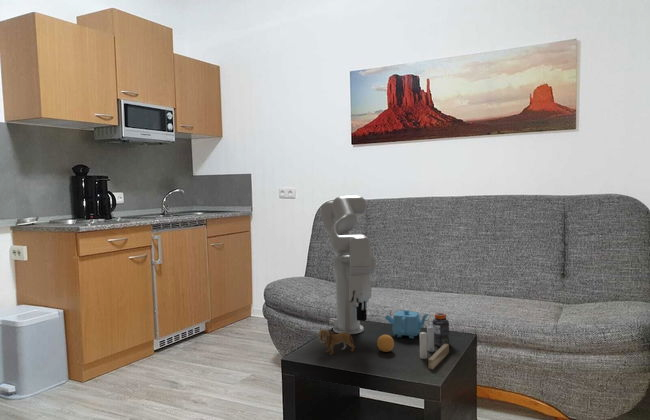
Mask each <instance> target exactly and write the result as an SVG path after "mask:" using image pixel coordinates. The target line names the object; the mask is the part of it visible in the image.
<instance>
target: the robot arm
mask: <svg viewBox="0 0 650 420" xmlns="http://www.w3.org/2000/svg"><path fill="white" fill-rule="evenodd" d="M366 212H367V201H366V200H365V198H364V197H363V196H361V195H344V196H343V195H341V196H338V197H335V198H334V199H333V200H330V201H326V202H324V203H323V204H322V205H321V209H320V213H321V219H322V223H323V225H324V227H325V229H326V230H327V232H328V234H329V239H330V243H331V248H332V250H333V253H334V255H335V256H336V257H335V258H334V259H333V260H332V261H333V263H332V264H333V265H332V266H333V267H332V268H333V273H334V280H335V294H336V295H335V297H336V299H335V301H336V318H334V317H330V318H329V319H328V320H329V322H328V323H329V324H330V325H334V326H333V329H332V330H333V333H335V334H340V333H343V332H346V333H349V334H350V335H357V334H361V333H363V332H364V330H365V329H364V326H363V325H361V322H365V321H367V319H368V318H367V316H368V315H367V308H368V303H369V301H370V299H371V298H372V281H371V280H372V279H371V277H372V276H373V275H375V274H376V270H377V264H376V260H375V256H374V252H373V249H372V245H371V241H370V238H369V237H368V236H366V235H365V234H350V231H352V230H354V229H355V228H356V226H357V225H358V219H359V218H361V217H363V216H364V215H365V214H366Z"/></svg>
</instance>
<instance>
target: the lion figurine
mask: <svg viewBox="0 0 650 420" xmlns="http://www.w3.org/2000/svg"><path fill="white" fill-rule="evenodd" d="M318 340H319V343H321V344H322V345H323V346H324V347H326V350H325V353H328V354H329V355H333V354H334V346H335V345H340V344H341V343H342V344H343V346H342V347H341V348H340V349H341V351H343V350H345V349H346V348H347V346H349V347H351V348H350V352H354V351H355V348H356V345H354V340H353V337H352V334H349V333H346V332H343V333H340V334H339V333H335V332H334V331H333V332H332V331H330V330H328V329H326V328H325V329H324V328H323V329H321V330H320V331H319V333H318Z"/></svg>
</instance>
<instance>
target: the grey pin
mask: <svg viewBox="0 0 650 420" xmlns="http://www.w3.org/2000/svg"><path fill="white" fill-rule="evenodd" d="M426 333H427V352H430V353H433V352H435V344H434V327H433V325H432V326H431V325H427V327H426Z"/></svg>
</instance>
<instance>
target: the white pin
mask: <svg viewBox="0 0 650 420" xmlns="http://www.w3.org/2000/svg"><path fill="white" fill-rule="evenodd" d="M427 358H428V351H427V332H425V331H420V332H419V359H422V360H426V359H427Z"/></svg>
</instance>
